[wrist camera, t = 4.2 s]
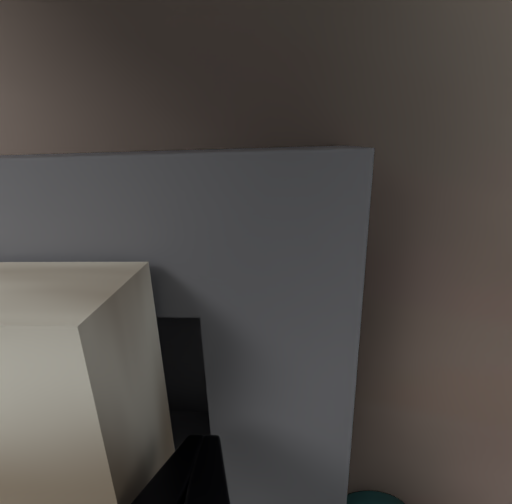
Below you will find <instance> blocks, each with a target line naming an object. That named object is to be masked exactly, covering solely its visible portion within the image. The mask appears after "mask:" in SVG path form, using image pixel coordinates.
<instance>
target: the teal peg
mask: <svg viewBox="0 0 512 504" xmlns="http://www.w3.org/2000/svg"><path fill="white" fill-rule="evenodd" d="M346 504H404V503H403V502H402V501H401V500H399V499H398V498H396V497H394V496H392V495H389V494H386V493H382V492H377V491H360V492H355V493H351V494H348V495H347V503H346Z"/></svg>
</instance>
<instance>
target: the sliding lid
mask: <svg viewBox="0 0 512 504" xmlns="http://www.w3.org/2000/svg"><path fill="white" fill-rule="evenodd" d="M174 452H175V448H174V441H173V434H172V427H171V420H170V412H169V405H168V398H167V391H166V384H165V376H164V369H163V362H162V355H161V348H160V341H159V333H158V326H157V319H156V312H155V305H154V297H153V290H152V283H151V276H150V269H149V262H0V504H131V503H132V502H133V500H134V499H135V498H136V497H137V496H138V494H139V493H140V492H141V491H142V490H143V488H144V487H145V486H146V485H147V484H148V482H149V481H150V480H151V479H152V478H153V477H154V475H155V474H156V473H157V472H158V471H159V469H160V468H161V467H162V466H163V465H164V463H165V462H166V461H167V460H168V459H169V458H170V456H171V455H172V454H173V453H174Z"/></svg>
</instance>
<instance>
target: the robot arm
mask: <svg viewBox="0 0 512 504" xmlns="http://www.w3.org/2000/svg"><path fill="white" fill-rule="evenodd" d="M131 504H230V498H229V492H228V486H227V479H226V473H225V467H224V460H223V454H222V447H221V441H220V437H219V436H218V435H205V436H204V435H202V434H190V435H188V436H187V437H186V439H185V440H184V441H183V442H182V443H181V444H180V446H179V447H178V448H177V449H176V450H175V452H174V453H173V454H172V455H171V456H170V458H169V459H168V460H167V461H166V462H165V463H164V465H163V466H162V467H161V468H160V469H159V471H158V472H157V473H156V474H155V475H154V477H153V478H152V479H151V480H150V481H149V482H148V484H147V485H146V486H145V487H144V488H143V490H142V491H141V492H140V493H139V494H138V496H137V497H136V498H135V499H134V500H133V502H132V503H131Z"/></svg>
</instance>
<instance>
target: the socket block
mask: <svg viewBox="0 0 512 504" xmlns="http://www.w3.org/2000/svg"><path fill="white" fill-rule="evenodd" d="M374 150H375V148H370V147H358V146H311V147H277V148H242V149H208V150H173V151H139V152H105V153H70V154H36V155H1V156H0V262H149V269H150V276H151V283H152V290H153V297H154V305H155V312H156V319H157V326H158V333H159V341H160V348H161V355H162V362H163V369H164V376H165V384H166V391H167V398H168V405H169V412H170V420H171V427H172V434H173V441H174V448H175V450H176V449H177V448H178V447H179V446H180V444H181V443H182V442H183V441H184V440H185V439H186V437H187V436H188V435H190V434H202V435H204V436H205V435H218V436H219V437H220V441H221V447H222V454H223V460H224V467H225V473H226V479H227V486H228V492H229V498H230V504H346V503H347V490H348V478H349V465H350V453H351V440H352V427H353V415H354V402H355V390H356V377H357V364H358V352H359V339H360V326H361V314H362V301H363V289H364V276H365V263H366V251H367V238H368V226H369V213H370V200H371V188H372V175H373V163H374Z"/></svg>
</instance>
